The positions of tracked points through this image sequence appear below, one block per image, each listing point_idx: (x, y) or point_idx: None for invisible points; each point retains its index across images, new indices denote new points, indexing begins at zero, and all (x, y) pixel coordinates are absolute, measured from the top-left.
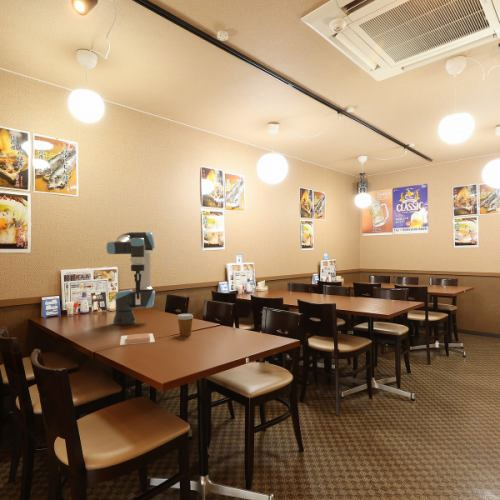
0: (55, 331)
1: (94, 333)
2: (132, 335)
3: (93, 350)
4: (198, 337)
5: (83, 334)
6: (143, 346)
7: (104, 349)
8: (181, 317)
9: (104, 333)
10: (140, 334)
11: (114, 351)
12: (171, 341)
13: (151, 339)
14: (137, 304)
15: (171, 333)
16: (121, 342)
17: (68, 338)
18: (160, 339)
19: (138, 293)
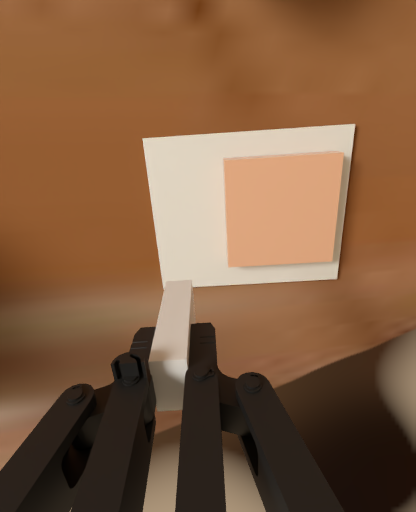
0: None
1: (71, 384)
2: (252, 243)
3: (356, 351)
4: None
5: None
6: (393, 179)
7: (360, 321)
8: None
9: (77, 353)
10: (242, 205)
11: (411, 286)
12: (362, 19)
13: (293, 143)
14: (193, 304)
15: (143, 9)
16: (296, 276)
17: None
18: (284, 91)
19: (221, 380)
